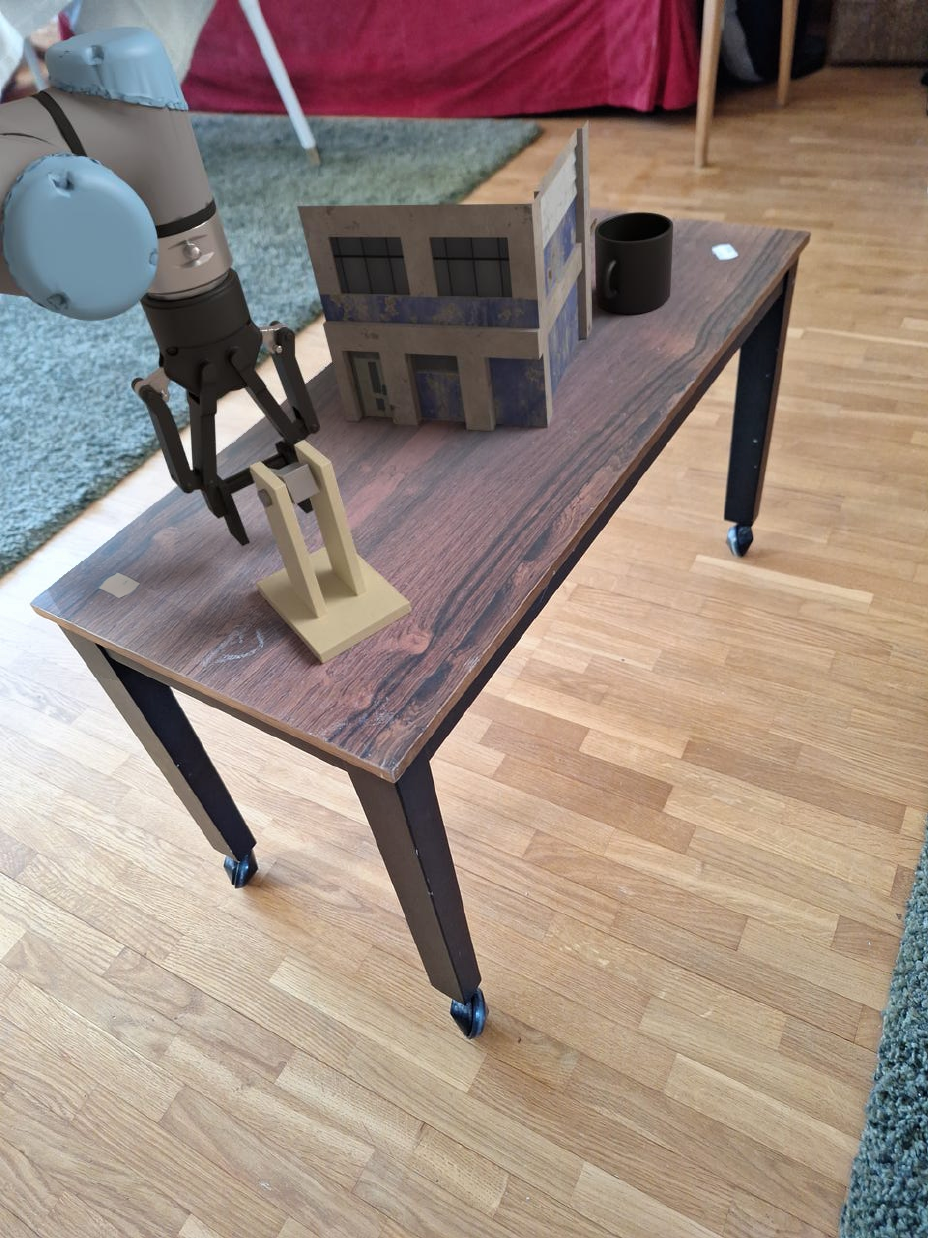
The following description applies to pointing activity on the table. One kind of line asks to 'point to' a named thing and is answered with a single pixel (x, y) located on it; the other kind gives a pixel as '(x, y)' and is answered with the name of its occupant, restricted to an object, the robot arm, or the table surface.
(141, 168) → the robot arm
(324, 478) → the bracket
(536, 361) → the building
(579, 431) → the table surface
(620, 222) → the mug
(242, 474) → the lever
